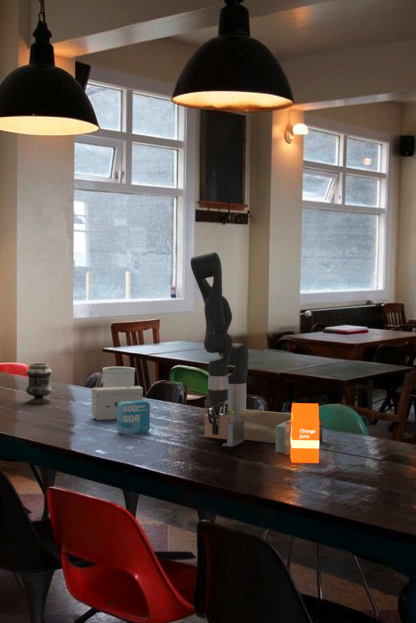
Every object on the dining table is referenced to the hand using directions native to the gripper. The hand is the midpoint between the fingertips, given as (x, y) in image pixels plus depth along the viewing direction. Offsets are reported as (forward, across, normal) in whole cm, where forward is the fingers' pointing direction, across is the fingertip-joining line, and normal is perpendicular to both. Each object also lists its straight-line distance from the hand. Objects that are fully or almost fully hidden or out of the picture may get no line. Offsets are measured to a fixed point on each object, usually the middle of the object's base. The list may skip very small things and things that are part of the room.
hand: (217, 433), depth 312 cm
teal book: (+2, +8, +30) cm, 31 cm away
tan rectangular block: (+2, 0, 0) cm, 2 cm away
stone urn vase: (+3, -38, -111) cm, 117 cm away
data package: (+3, +2, -35) cm, 35 cm away
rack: (+3, +6, +21) cm, 22 cm away
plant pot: (+3, -12, -4) cm, 13 cm away
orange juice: (+3, +20, +41) cm, 45 cm away
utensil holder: (+3, -46, -72) cm, 86 cm away
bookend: (+1, +8, +11) cm, 13 cm away
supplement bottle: (+3, -11, +34) cm, 36 cm away
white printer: (+3, -20, -56) cm, 60 cm away
